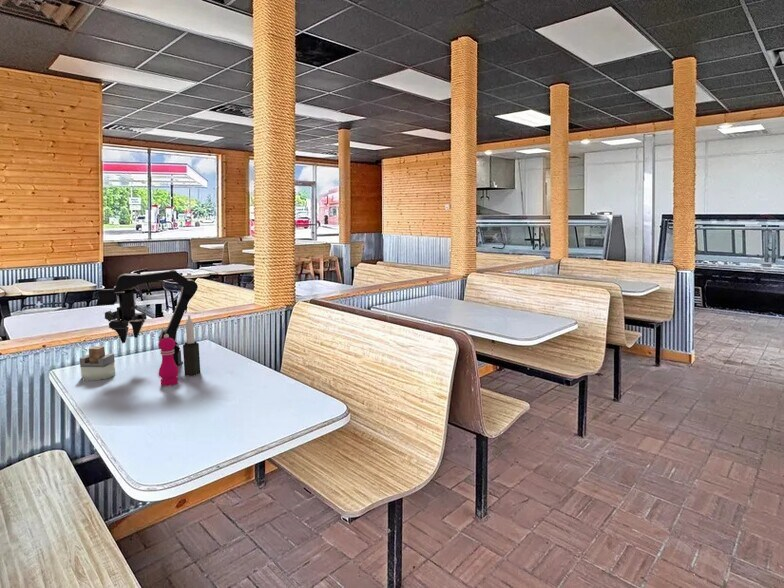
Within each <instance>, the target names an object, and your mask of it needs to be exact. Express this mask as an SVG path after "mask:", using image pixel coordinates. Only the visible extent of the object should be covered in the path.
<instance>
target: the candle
mask: <svg viewBox="0 0 784 588" xmlns="http://www.w3.org/2000/svg"><path fill="white" fill-rule="evenodd" d="M185 333H186V335H185V336H186V342H184V344H182V353H183V370H184V376H187V375H189V377H195V376H197V375H198V373H199V374H201V360H200V345H199V342H197V341H195V330H194V322H193V320H192V319H191V315H187V320H186V322H185ZM196 374H197V375H196ZM194 375H195V376H194Z"/></svg>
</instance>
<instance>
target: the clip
mask: <svg viewBox="0 0 784 588" xmlns="http://www.w3.org/2000/svg"><path fill="white" fill-rule="evenodd" d="M115 361H116V360H115V354H114V353H108V354H105V356H103V357H101V358H99V359H98V363H90V359H89V354H86V355H85V356H82V357H80V358H79V366H80V368H81V367H105V366H107V365H109V364H111V363H113V362H115Z"/></svg>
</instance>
